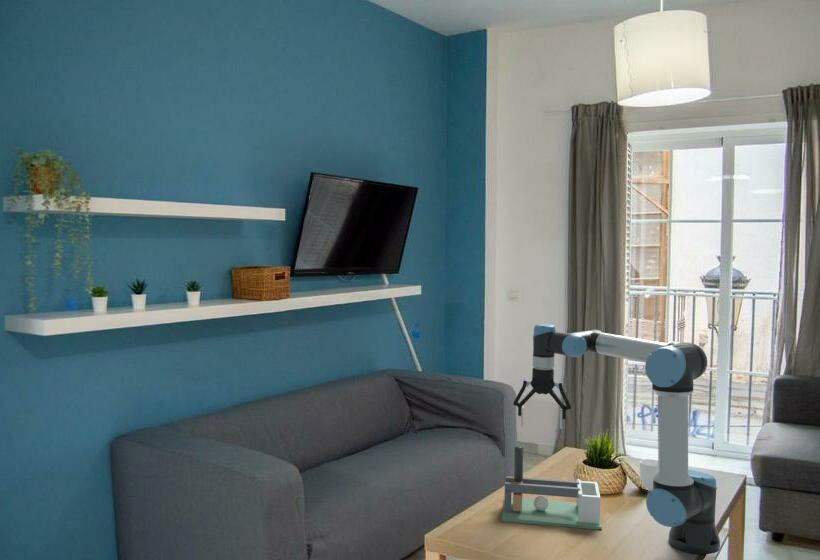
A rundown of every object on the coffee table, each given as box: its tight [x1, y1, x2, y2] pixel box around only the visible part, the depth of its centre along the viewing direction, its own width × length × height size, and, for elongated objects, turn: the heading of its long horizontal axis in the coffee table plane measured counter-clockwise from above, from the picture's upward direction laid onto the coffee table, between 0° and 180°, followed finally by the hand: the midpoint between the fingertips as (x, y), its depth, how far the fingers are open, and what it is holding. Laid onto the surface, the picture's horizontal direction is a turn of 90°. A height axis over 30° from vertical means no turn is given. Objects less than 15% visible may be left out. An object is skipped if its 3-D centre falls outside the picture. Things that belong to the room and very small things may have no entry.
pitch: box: [501, 475, 603, 530], centre depth 248 cm, size 20×33×11 cm, turn 79°
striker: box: [512, 445, 524, 512], centre depth 250 cm, size 10×3×21 cm, turn 169°
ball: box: [534, 495, 549, 511], centre depth 249 cm, size 5×5×5 cm
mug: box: [639, 458, 658, 492], centre depth 275 cm, size 12×8×10 cm
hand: (541, 426), depth 254 cm, fingers open, 13 cm apart
